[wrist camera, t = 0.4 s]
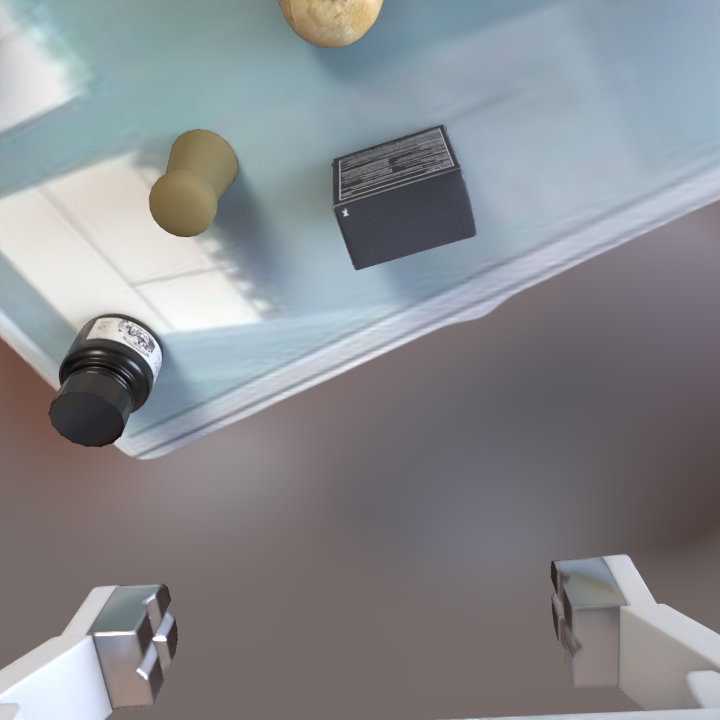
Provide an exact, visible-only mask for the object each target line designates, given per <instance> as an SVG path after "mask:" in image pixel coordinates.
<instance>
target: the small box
mask: <svg viewBox="0 0 720 720" xmlns="http://www.w3.org/2000/svg"><path fill="white" fill-rule="evenodd" d="M332 167H333V207H332V209H333V212H334V214H335V217H336V219H337V222H338V225H339V228H340V231H341V233H342V236H343V238H344V241H345V244H346V247H347V250H348V253H349V255H350V258H351V261H352V264H353V266H354V269H355V270H360V269H363V268H367V267H370V266H374V265H377V264H380V263H384V262H387V261H390V260H394V259H397V258H401V257H404V256H407V255H411V254H414V253H418V252H421V251H425V250H428V249H432V248H435V247H439V246H442V245H445V244H449V243H452V242H456V241H460V240H463V239H466V238H470V237H473V236H476V235H477V231H476V226H475V221H474V217H473V212H472V207H471V203H470V199H469V195H468V190H467V186H466V182H465V178H464V173H463V170H462V167H461V166H460V164H459V163H458V160H457V158H456V155H455V152H454V150H453V147H452V145H451V143H450V140H449V137H448V135H447V131H446V127H445V126H444V125H441V126H438V127H435V128H431V129H428V130H425V131H421V132H418V133H415V134H412V135H409V136H405V137H403V138H399V139H396V140H393V141H390V142H387V143H383V144H380V145H376V146H374V147H370V148H367V149H364V150H361V151H358V152H355V153H352V154H349V155H346V156H343V157H340V158H336V159H334V160H333V163H332Z"/></svg>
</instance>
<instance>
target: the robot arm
mask: <svg viewBox="0 0 720 720" xmlns="http://www.w3.org/2000/svg"><path fill="white" fill-rule="evenodd" d="M551 580H552V583H553V585H554V588H555V593H554V594H553V595H552V597H551V601H552V615H553V622H554V628H555V632H556V636H557V640H558V643H559V645H560V646H562V647H563V648H564V650H565V651H564V653H565V664H566V667H567V670H568V673H569V676H570V678H571V681H572V684H573V687H612V686H613V687H615V686H616V687H617V686H619V689H620V690H621V691H622V692H623V693H624V694H626V695H627V696H628V697H629V698H630V699H631V700H632V701H633V702H634V703H636V704H637V705H638V706H639V707H640V708H641V709H642V710H643V711H634V712H608V713H584V714H563V715H538V716H516V717H492V718H469V719H448V720H720V635H719V634H717V633H715V632H714V631H712V630H710V629H708V628H706V627H704V626H703V625H701V624H699V623H697V622H696V621H694V620H692V619H690V618H689V617H687V616H685V615H683V614H681V613H679V612H678V611H676V610H674V609H672V608H671V607H669V606H667V605H665V604H656V602H655V600H654V599H653V597H652V595H651V594H650V592H649V590H648V588H647V587H646V585H645V583H644V581H643V580H642V578H641V576H640V575H639V573H638V571H637V570H636V568H635V566H634V564H633V563H632V561H631V559H630V557H629V556H627V555H625V554H623V555H613V556H602V557H597V558H583V559H570V560H556V561H552V562H551ZM170 602H171V598H170V595H169V590H168V587H167V586H166V585H164V584H143V585H120V586H101V587H96V588H94V589H93V590H92V591H91V592H90V594H89V595H88V597H87V598H86V600H85V601H84V602H83V604H82V605H81V607H80V608H79V610H78V611H77V613H76V614H75V616H74V617H73V619H72V620H71V622H70V623H69V624H68V626H67V627H66V629H65V630H64V632H63V633H62V635H61V636H60V637H53V638H52V639H50V640H48V641H46V642H45V643H43V644H42V645H40V646H39V647H37V648H35V649H34V650H32V651H31V652H29V653H27V654H26V655H24V656H22V657H21V658H19V659H18V660H16V661H15V662H13V663H11V664H10V665H8V666H6V667H5V668H3V669H2V670H0V720H104V719H106V718H107V717H108V716H109V715H110V714H111V713H112V710H116V709H129V708H142V707H153V706H154V704H155V701H156V699H157V697H158V694H159V692H160V690H161V688H162V685H163V683H164V678H163V673H162V672H163V671H164V670H165V669H166V668H168V667H169V666H170V665H171V664H172V662H173V659H174V657H175V654H176V648H177V641H178V635H177V625H176V620H175V617H174V616H172V615H171V614H170V613H169V612H168V611H167V608H168V606H169V604H170Z"/></svg>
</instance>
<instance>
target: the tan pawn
mask: <svg viewBox="0 0 720 720" xmlns="http://www.w3.org/2000/svg"><path fill="white" fill-rule="evenodd" d="M236 174H237V159H236V156H235V152H234V150H233V149H232V148H231V146H230V145H229V143H228V142H227V141H226V140H225V139H223V138H222V137H221V136H220V135H218V134H216V133H213V132H211V131H208V130H199V129H197V130H192V131H188V132H186V133H184V134H183V135H181V136H180V137H178V139H177V140H176V141H175V143H174V144H173V146H172V150H171V153H170V157H169V161H168V166H167V170H166V174H165V175H163V176H161V177H160V178H159V179H158V180H157V182H156V183H155V184H154V186H153V187H152V189H151V193H150V196H149V204H150V211H151V214H152V216H153V218H154V220H155V221H156V222H157V224H158V225H159V226H160V227H161V228H162V229H164V230H165V231H167V232H168V233H170V234H173V235H176V236H179V237H192V236H197V235H199V234H200V233H202V232H204V231H205V230H207V229H208V228H209V226H210V225H211V224H212V223H213V221H214V218H215V215H216V212H217V201H218V200H219V198H220V197H221V196H222V195H223V194H224V193H225V191H226V190H227V189H228V188H229V187H230V185H231V184H232V183H233V182H234V180H235V177H236Z"/></svg>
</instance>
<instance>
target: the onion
mask: <svg viewBox="0 0 720 720" xmlns="http://www.w3.org/2000/svg"><path fill="white" fill-rule="evenodd" d="M278 1H279V5H280V8H281V10H282V13H283V15H284V17H285V19H286V21H287V23H288V24H289V25H290V27H291V28H292V29H293V31H294V32H295V33H296V34H297V35H299V36H300V37H301V38H303V39H304V40H306V41H307V42H309V43H311V44H313V45H316V46H319V47H325V48H338V47H343V46H347V45H349V44H351V43H353V42H355V41H357V40H358V39H359V38H361V37H362V36H363V35H364V34H365V33H366V32H367V31H368V30H369V29H370V27H371V26H372V25H373V24H374V22H375V20H376V18H377V16H378V14H379V12H380V9H381V6H382V3H383V0H278Z"/></svg>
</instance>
